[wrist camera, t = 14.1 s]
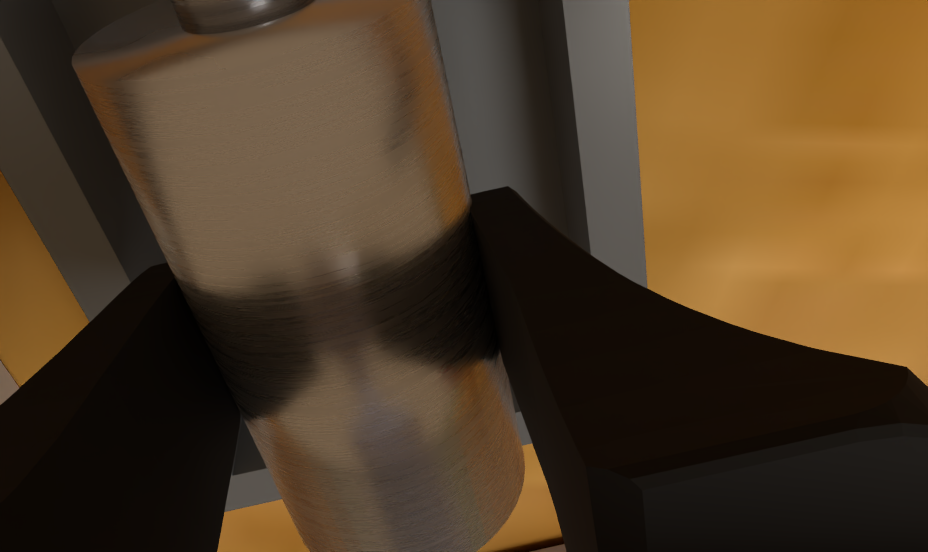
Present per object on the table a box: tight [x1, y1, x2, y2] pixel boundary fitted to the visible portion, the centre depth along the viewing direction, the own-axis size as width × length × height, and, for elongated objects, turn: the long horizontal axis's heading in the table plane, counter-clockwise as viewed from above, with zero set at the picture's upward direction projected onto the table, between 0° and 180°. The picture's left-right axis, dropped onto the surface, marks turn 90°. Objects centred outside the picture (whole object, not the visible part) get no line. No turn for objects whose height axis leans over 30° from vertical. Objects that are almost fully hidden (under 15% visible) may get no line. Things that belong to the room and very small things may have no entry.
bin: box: [0, 0, 647, 512], centre depth 15 cm, size 13×10×3 cm
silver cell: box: [72, 0, 525, 552], centre depth 11 cm, size 9×4×4 cm
